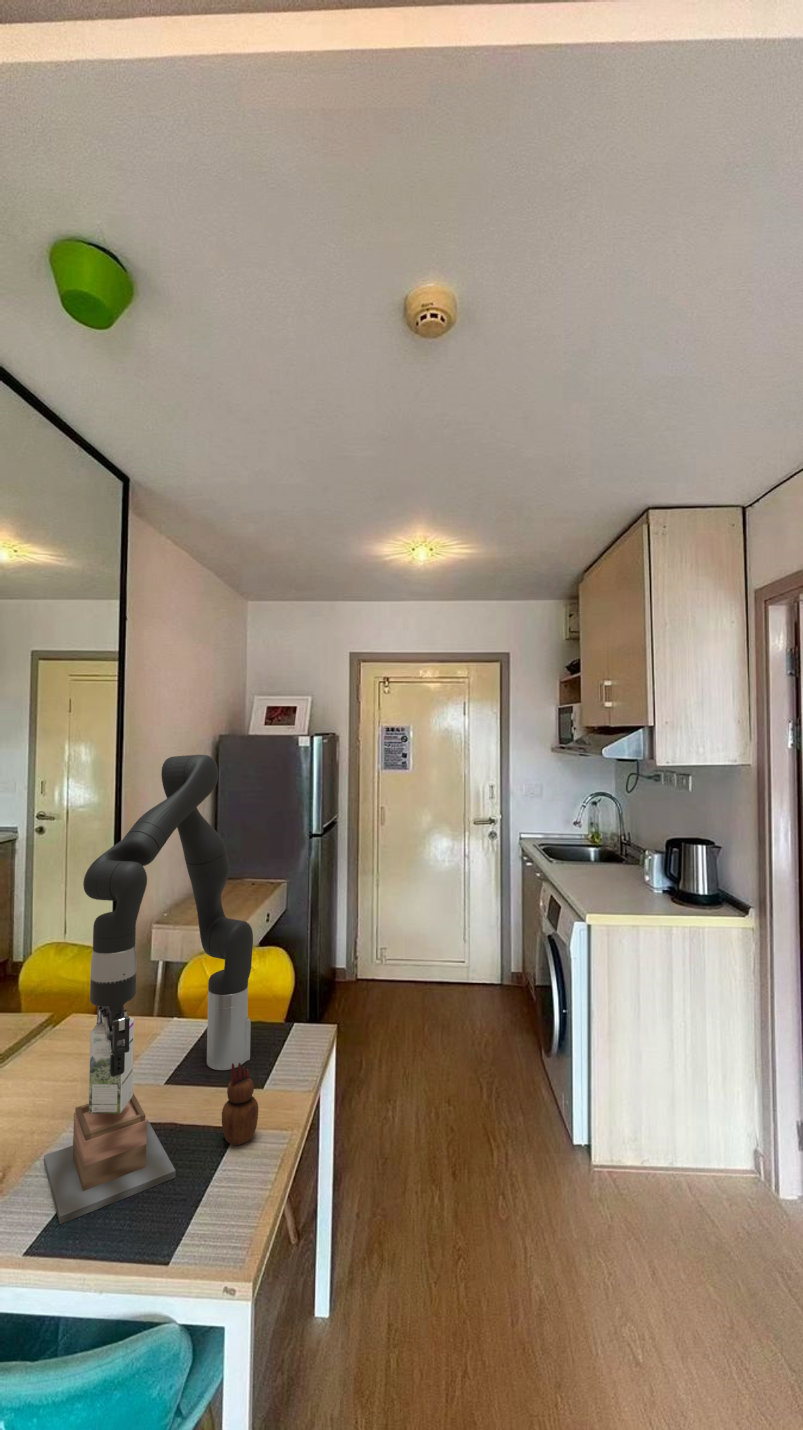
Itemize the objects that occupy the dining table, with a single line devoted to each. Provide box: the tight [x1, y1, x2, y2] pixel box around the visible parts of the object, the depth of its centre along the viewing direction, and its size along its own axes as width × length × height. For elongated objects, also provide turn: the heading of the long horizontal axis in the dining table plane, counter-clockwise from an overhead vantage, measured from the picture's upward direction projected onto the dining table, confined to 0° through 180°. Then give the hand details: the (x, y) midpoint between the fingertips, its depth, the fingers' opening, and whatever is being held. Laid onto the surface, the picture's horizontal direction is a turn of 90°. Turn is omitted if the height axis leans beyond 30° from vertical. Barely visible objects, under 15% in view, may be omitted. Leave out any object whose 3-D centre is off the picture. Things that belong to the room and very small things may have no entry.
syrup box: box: [88, 1017, 135, 1114], centre depth 112 cm, size 6×6×14 cm
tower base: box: [43, 1092, 177, 1225], centre depth 112 cm, size 18×18×10 cm
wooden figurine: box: [221, 1063, 259, 1146], centre depth 120 cm, size 7×6×15 cm
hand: (111, 1064), depth 112 cm, fingers closed on syrup box, 8 cm apart
